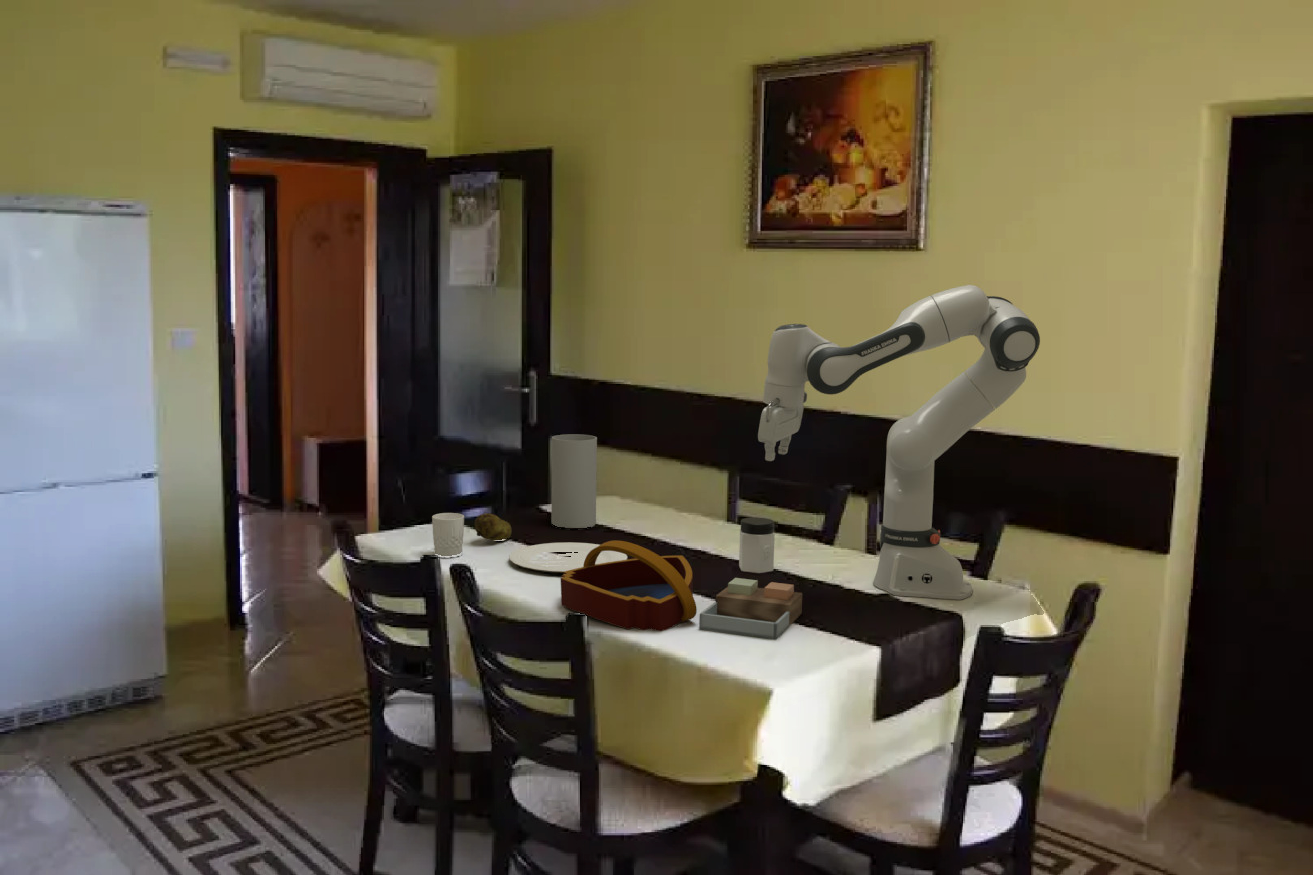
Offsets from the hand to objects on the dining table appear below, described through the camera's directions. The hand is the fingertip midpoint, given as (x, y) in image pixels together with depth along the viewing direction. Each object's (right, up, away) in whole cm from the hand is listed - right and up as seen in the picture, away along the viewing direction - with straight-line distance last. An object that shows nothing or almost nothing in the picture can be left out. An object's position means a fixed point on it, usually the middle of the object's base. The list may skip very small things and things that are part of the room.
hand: (776, 457), depth 266 cm
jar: (-3, -28, +23) cm, 37 cm away
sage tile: (-9, -28, -13) cm, 32 cm away
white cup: (-79, -25, +31) cm, 89 cm away
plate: (-49, -27, +27) cm, 62 cm away
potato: (-70, -23, +47) cm, 87 cm away
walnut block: (-5, -33, -15) cm, 37 cm away
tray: (-9, -35, -24) cm, 43 cm away
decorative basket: (-32, -33, -11) cm, 47 cm away
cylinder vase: (-50, -21, +68) cm, 87 cm away
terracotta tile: (-1, -29, -16) cm, 33 cm away
